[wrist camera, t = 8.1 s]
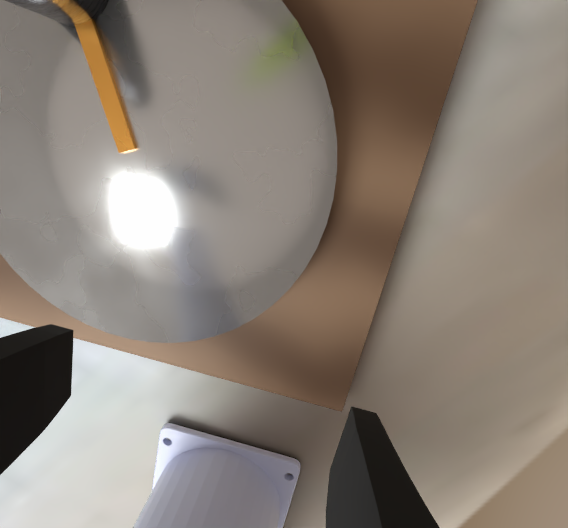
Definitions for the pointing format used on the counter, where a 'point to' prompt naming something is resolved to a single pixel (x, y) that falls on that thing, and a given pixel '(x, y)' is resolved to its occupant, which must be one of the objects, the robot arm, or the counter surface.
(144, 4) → the dial
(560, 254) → the counter surface
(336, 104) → the dial base
